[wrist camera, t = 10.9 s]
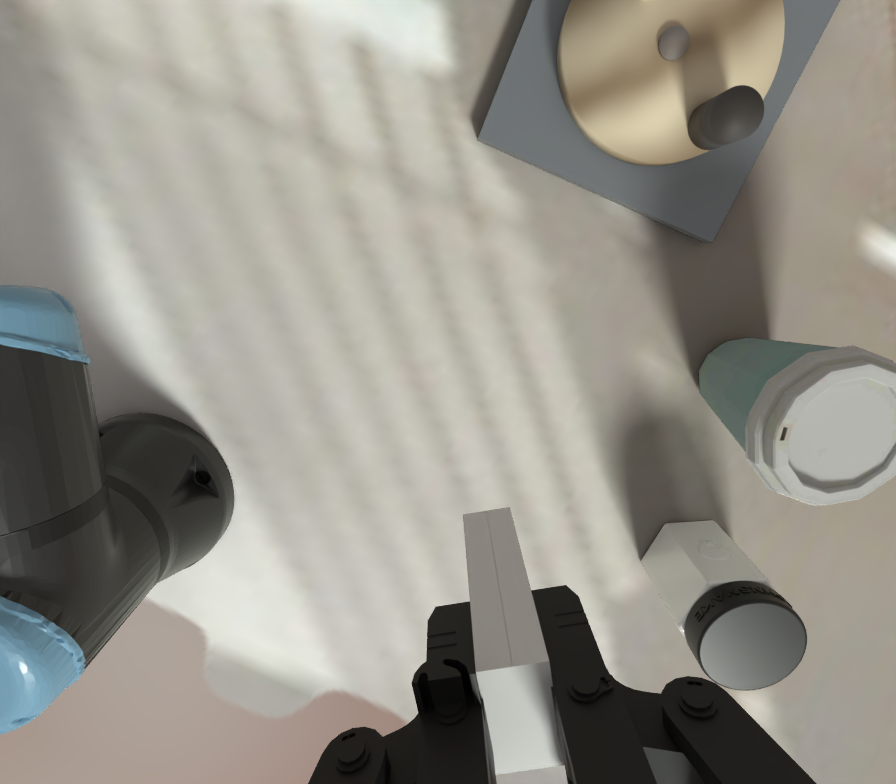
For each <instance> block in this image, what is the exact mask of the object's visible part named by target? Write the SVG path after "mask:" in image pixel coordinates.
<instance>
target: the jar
mask: <svg viewBox="0 0 896 784" xmlns="http://www.w3.org/2000/svg"><path fill="white" fill-rule="evenodd" d="M641 564H642V566H643V567H644V569H645V571H646V573H647V574H648V576H649V578H650V580H651V581H652V583H653V585H654V587H655V588H656V590H657V592H658V594H659V595H660V597H661V599H662V601H663V602H664V604H665V606H666V608H667V609H668V611H669V613H670V615H671V616H672V618H673V620H674V622H675V623H676V625H677V627H678V628H679V630H680V631H681V633H682V634H683V636H684V637H685V639H686V641H687V643H688V645H689V647H690V649H691V651H692V653H693V654H694V656H695V658H696V660H697V661H698V663H699V665H700V667H701V668H702V670H703V671H704V673H705V674H706V675H707V676H708V677H709V678H710V679H711V680H713V681H714V682H716V683H717V684H719V685H722V686H724V687H727V688H730V689H735V690H756V689H761V688H765V687H768V686H771V685H773V684H775V683H777V682H779V681H781V680H782V679H784V678H785V677H786V676H788V675H789V674H790V673H791V672H792V671H793V670H794V669H795V668H796V667H797V666H798V664H799V663H800V661H801V659H802V658H803V655H804V653H805V650H806V645H807V633H806V629H805V626H804V624H803V622H802V620H801V618H800V617H799V616H798V614H797V613H796V612H795V611H794V610H793V609H792V606H791V605H790V604H789V603H788V602H787V601H786V600H785V599H784V598H783V597H782V596H781V595H779V594H778V593H777V592H776V591H775V590H774V588H773V586H772V585H771V583H770V581H769V580H768V578H767V577H766V576H765V575H764V574H763V573H762V572H761V571H760V570H759V569H758V568H757V566H756V565H755V564H754V563H753V562H752V561H751V560H750V559H749V558H748V557H747V556H746V555H745V553H744V552H743V551H742V550H741V549H740V548H739V547H738V546H737V545H736V544H735V543H734V541H733V540H732V539H731V538H730V537H729V536H728V535H727V534H726V533H725V532H724V531H723V529H722V528H721V527H720V526H719V525H718V524H717V523H716V522H715V521H714V520H708V521H694V522H679V523H666V524H664V526H663V527H662V529H661V531H660V532H659V534H658V535H657V537H656V538H655V540H654V541H653V543H652V544H651V546H650V548H649V549H648V551H647V552H646V554H645V555H644V557H643V558H642V560H641Z"/></svg>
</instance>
